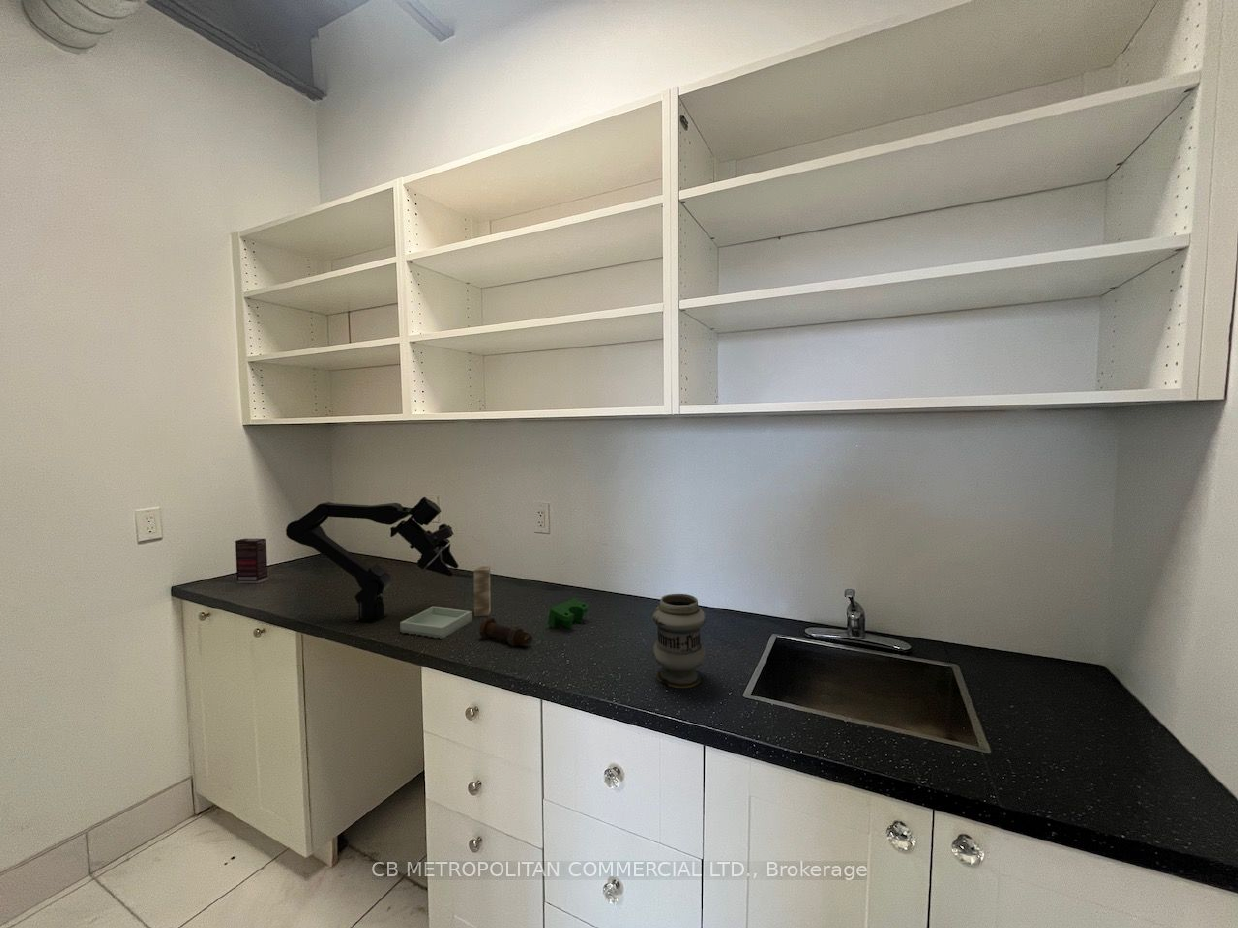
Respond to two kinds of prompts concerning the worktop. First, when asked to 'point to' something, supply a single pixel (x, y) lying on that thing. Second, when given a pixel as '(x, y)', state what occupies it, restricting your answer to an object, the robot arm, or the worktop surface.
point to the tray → (436, 622)
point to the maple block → (482, 591)
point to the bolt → (504, 632)
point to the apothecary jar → (679, 640)
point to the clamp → (567, 613)
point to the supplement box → (251, 560)
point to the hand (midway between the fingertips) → (454, 571)
